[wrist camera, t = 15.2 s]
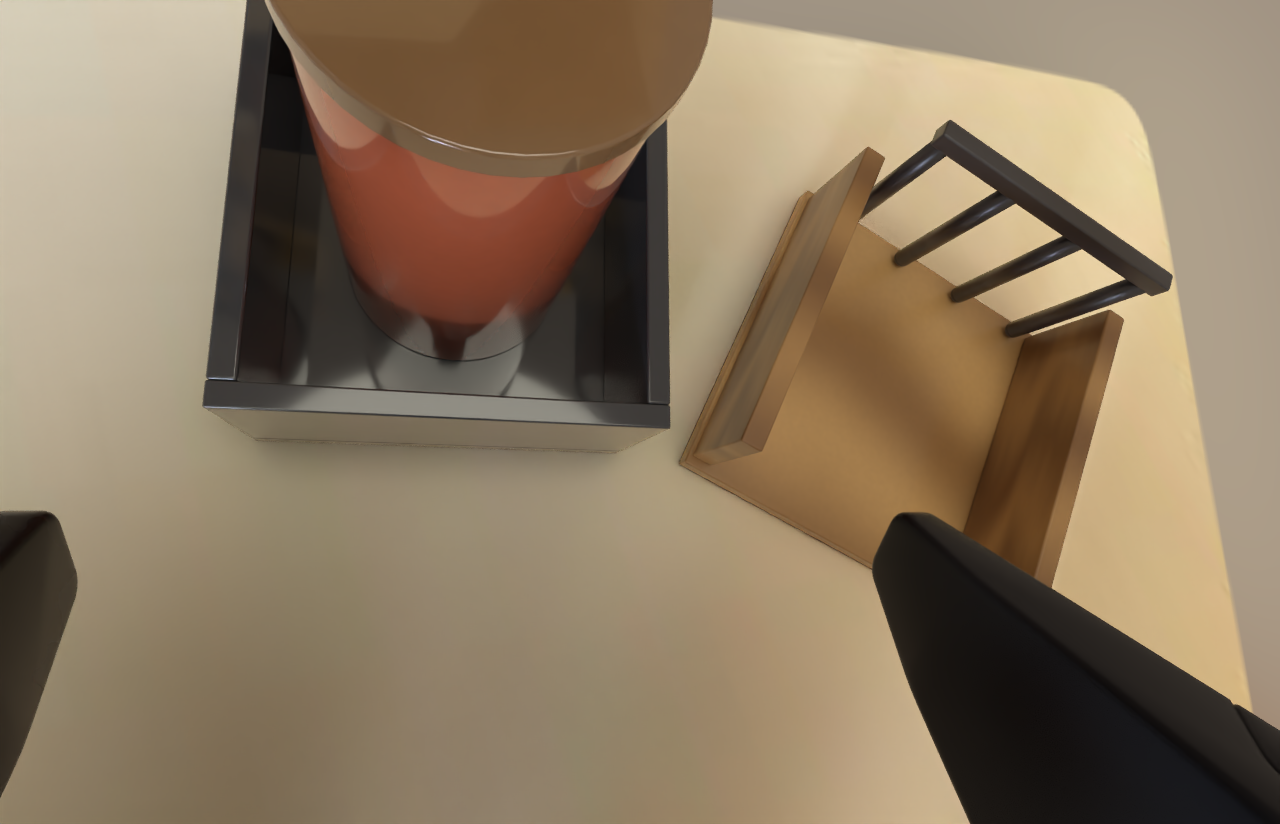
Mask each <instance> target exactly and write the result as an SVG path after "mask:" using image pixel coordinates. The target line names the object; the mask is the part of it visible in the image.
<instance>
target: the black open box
mask: <svg viewBox="0 0 1280 824" xmlns="http://www.w3.org/2000/svg"><path fill="white" fill-rule="evenodd" d="M206 378H207V379H208V380H206V381H205V386H204V395H203V405H202V406H203V407H204V408H205V409H207V410H208V411H210V412H211V413H213V414H215V415H216V416H218V417H219V418H221V419H222V420H224V421H226V422H227V423H229V424H230V425H232V426H233V427H235V428H237V429H238V430H240V431H241V432H243V433H244V434H246V435H248V436H249V437H251V438H253V439H254V440H256V441H279V442H308V443H337V444H366V445H395V446H424V447H453V448H482V449H511V450H540V451H569V452H598V453H617V452H619V451H622V450H624V449H626V448H628V447H631V446H633V445H635V444H637V443H639V442H642V441H644V440H646V439H648V438H650V437H652V436H655V435H657V434H659V433H661V432H663V431H666V430H668V429H670V406H669V404H670V363H669V266H668V168H667V119H666V120H665V121H664V123H662V124H661V125H660V126H659V127H658V128H657V129H656V130H655V131H654V132H653V133H652V134H651V135H650V136H649V137H648V138H647V140H646V142H645V143H644V145H643V147H642V149H641V150H640V152H639V154H638V156H637V157H636V159H635V161H634V163H633V165H632V166H631V168H630V170H629V172H628V173H627V175H626V177H625V179H624V180H623V182H622V184H621V186H620V188H619V189H618V191H617V193H616V195H615V196H614V198H613V200H612V202H611V203H610V205H609V207H608V209H607V211H606V212H605V214H604V216H603V218H602V219H601V221H600V223H599V225H598V226H597V228H596V230H595V232H594V234H593V235H592V237H591V239H590V241H589V242H588V244H587V246H586V248H585V249H584V251H583V253H582V255H581V257H580V258H579V260H578V262H577V264H576V265H575V267H574V269H573V271H572V272H571V274H570V276H569V278H568V280H567V281H566V283H565V285H564V287H563V288H562V290H561V292H560V294H559V295H558V297H557V299H556V301H555V303H554V304H553V306H552V308H551V310H550V311H549V313H548V315H547V317H546V318H545V319H544V321H543V322H542V323H541V325H540V326H539V327H538V328H537V329H536V330H535V331H534V332H533V333H532V334H531V335H530V336H529V337H528V338H526V339H525V340H524V341H522V342H521V343H520V344H518V345H516V346H514V347H513V348H511V349H509V350H507V351H505V352H502V353H500V354H497V355H494V356H490V357H486V358H482V359H475V360H447V359H439V358H435V357H431V356H427V355H424V354H421V353H419V352H416V351H413V350H411V349H409V348H407V347H405V346H403V345H401V344H400V343H398V342H396V341H395V340H393V339H392V338H391V337H389V336H388V335H386V334H385V333H384V332H383V331H382V330H381V329H380V328H379V327H377V326H376V325H375V324H374V323H373V321H372V320H371V319H370V318H369V317H368V315H367V314H366V313H365V312H364V310H363V308H362V307H361V305H360V304H359V302H358V301H357V298H356V296H355V294H354V292H353V290H352V287H351V284H350V281H349V278H348V274H347V270H346V267H345V263H344V259H343V255H342V251H341V247H340V244H339V240H338V236H337V232H336V228H335V224H334V221H333V217H332V213H331V209H330V205H329V202H328V198H327V194H326V190H325V186H324V182H323V179H322V175H321V171H320V167H319V163H318V159H317V156H316V152H315V148H314V144H313V140H312V136H311V133H310V129H309V125H308V121H307V117H306V114H305V110H304V106H303V102H302V98H301V94H300V91H299V87H298V83H297V79H296V75H295V71H294V68H293V64H292V60H291V56H290V52H289V48H288V46H287V44H286V42H285V41H284V39H283V38H282V36H281V35H280V33H279V31H278V29H277V27H276V25H275V23H274V21H273V18H272V16H271V14H270V12H269V10H268V8H267V5H266V3H265V0H247V2H246V11H245V21H244V30H243V39H242V48H241V57H240V67H239V76H238V85H237V94H236V104H235V113H234V122H233V131H232V140H231V150H230V159H229V168H228V177H227V186H226V196H225V205H224V214H223V223H222V233H221V242H220V251H219V260H218V269H217V279H216V288H215V297H214V306H213V315H212V325H211V334H210V343H209V352H208V361H207V371H206Z"/></svg>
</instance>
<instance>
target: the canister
mask: <svg viewBox="0 0 1280 824" xmlns="http://www.w3.org/2000/svg"><path fill="white" fill-rule="evenodd" d="M265 3H266V5H267V8H268V10H269V12H270V14H271V16H272V18H273V21H274V23H275V25H276V27H277V29H278V31H279V33H280V35H281V36H282V38H283V39H284V41H285V42H286V44H287V46H288V48H289V52H290V56H291V60H292V64H293V68H294V71H295V75H296V79H297V83H298V87H299V91H300V94H301V98H302V102H303V106H304V110H305V114H306V117H307V121H308V125H309V129H310V133H311V136H312V140H313V144H314V148H315V152H316V156H317V159H318V163H319V167H320V171H321V175H322V179H323V182H324V186H325V190H326V194H327V198H328V202H329V205H330V209H331V213H332V217H333V221H334V224H335V228H336V232H337V236H338V240H339V244H340V247H341V251H342V255H343V259H344V263H345V267H346V270H347V274H348V278H349V281H350V284H351V287H352V290H353V292H354V294H355V296H356V298H357V301H358V302H359V304H360V305H361V307H362V308H363V310H364V312H365V313H366V314H367V315H368V317H369V318H370V319H371V320H372V321H373V323H374V324H375V325H376V326H377V327H379V328H380V329H381V330H382V331H383V332H384V333H385V334H386V335H388V336H389V337H391V338H392V339H393V340H395V341H396V342H398V343H400V344H401V345H403V346H405V347H407V348H409V349H411V350H413V351H416V352H419V353H421V354H424V355H427V356H431V357H435V358H439V359H447V360H475V359H482V358H486V357H490V356H494V355H497V354H500V353H502V352H505V351H507V350H509V349H511V348H513V347H514V346H516V345H518V344H520V343H521V342H522V341H524V340H525V339H526V338H528V337H529V336H530V335H531V334H532V333H533V332H534V331H535V330H536V329H537V328H538V327H539V326H540V325H541V323H542V322H543V321H544V319H545V318H546V317H547V315H548V313H549V311H550V310H551V308H552V306H553V304H554V303H555V301H556V299H557V297H558V295H559V294H560V292H561V290H562V288H563V287H564V285H565V283H566V281H567V280H568V278H569V276H570V274H571V272H572V271H573V269H574V267H575V265H576V264H577V262H578V260H579V258H580V257H581V255H582V253H583V251H584V249H585V248H586V246H587V244H588V242H589V241H590V239H591V237H592V235H593V234H594V232H595V230H596V228H597V226H598V225H599V223H600V221H601V219H602V218H603V216H604V214H605V212H606V211H607V209H608V207H609V205H610V203H611V202H612V200H613V198H614V196H615V195H616V193H617V191H618V189H619V188H620V186H621V184H622V182H623V180H624V179H625V177H626V175H627V173H628V172H629V170H630V168H631V166H632V165H633V163H634V161H635V159H636V157H637V156H638V154H639V152H640V150H641V149H642V147H643V145H644V143H645V142H646V140H647V138H648V137H649V136H650V135H651V134H652V133H653V132H654V131H655V130H656V129H657V128H658V127H659V126H660V125H661V124H662V123H664V121H665V120H666V119H667V118H668V116H669V115H670V114H671V112H672V111H673V110H674V108H675V107H676V106H677V105H678V103H679V101H680V100H681V98H682V96H683V95H684V93H685V91H686V90H687V88H688V86H689V84H690V83H691V81H692V79H693V77H694V75H695V73H696V72H697V70H698V68H699V66H700V63H701V60H702V58H703V55H704V52H705V49H706V46H707V43H708V38H709V33H710V28H711V22H712V4H713V0H265Z"/></svg>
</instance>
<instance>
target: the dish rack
mask: <svg viewBox="0 0 1280 824" xmlns="http://www.w3.org/2000/svg"><path fill="white" fill-rule="evenodd" d="M946 156H948V157H949V158H950V159H952V160H953V161H955V162H956V163H958V164H959V165H961V166H962V167H964V168H965V169H966V170H968V171H969V172H971V173H972V174H974V175H975V176H977V177H978V178H980V179H981V180H982V181H984V182H985V183H987V184H988V185H990V186H991V187H993V188H994V189H996V190H997V191H996V192H994V193H993V194H991V195H990V196H988V197H986V198H985V199H983V200H981V201H980V202H978V203H976V204H975V205H973V206H971V207H970V208H968V209H967V210H965V211H963V212H962V213H960V214H958V215H957V216H955V217H953V218H952V219H950V220H949V221H947V222H945V223H944V224H942V225H940V226H939V227H937V228H935V229H934V230H932V231H930V232H929V233H927V234H926V235H924V236H922V237H921V238H919V239H917V240H916V241H914V242H912V243H911V244H909V245H908V246H906V247H904V248H903V249H901V250H899V249H898V248H896V247H895V246H893V245H891V244H890V243H888V242H887V241H885V240H884V239H882V238H881V237H879V236H878V235H876V234H874V233H873V232H871V231H870V230H868V229H867V228H865V227H864V226H862V225H861V224H859V223H858V222H859V220H860V219H861V218H862V217H864V216H865V215H867V214H868V213H869V212H871V211H872V210H873V209H875V208H876V207H877V206H879V205H880V204H882V203H883V202H884V201H886V200H887V199H888V198H890V197H891V196H892V195H894V194H895V193H897V192H898V191H899V190H901V189H902V188H903V187H905V186H906V185H907V184H909V183H910V182H912V181H913V180H914V179H916V178H917V177H918V176H920V175H921V174H922V173H924V172H925V171H926V170H928V169H929V168H931V167H932V166H933V165H935V164H936V163H937V162H939V161H940V160H941V159H943V158H944V157H946ZM884 160H885V158H884V157H883V156H882V155H880V154H879V153H877V152H876V151H874V150H873V149H871V148H870V147H867V148H865V149H864V150H863V151H862V152H861V153H860V154H859V155H858V156H856V157H855V158H854V159H853V160H852V161H851V162H850V163H849V164H847V165H846V166H845V167H844V168H843V169H842V170H841V171H839V172H838V173H837V174H836V175H835V176H834V177H833V178H832V179H830V180H829V181H828V182H827V183H826V184H825V185H824V186H822V187H821V188H820V189H819V190H818V191H817V192H816V193H815V194H813V193H811V192H810V191H807V192H805V193H804V194H803V195H802V196H801V197H800V198H799V201H798V203H797V205H796V207H795V209H794V212H793V214H792V216H791V218H790V220H789V222H788V225H787V227H786V229H785V231H784V233H783V236H782V238H781V240H780V242H779V244H778V247H777V249H776V251H775V253H774V255H773V258H772V260H771V262H770V264H769V266H768V269H767V271H766V273H765V275H764V277H763V280H762V282H761V284H760V286H759V288H758V291H757V293H756V295H755V297H754V299H753V302H752V304H751V306H750V308H749V310H748V313H747V315H746V317H745V319H744V321H743V324H742V326H741V328H740V330H739V332H738V335H737V337H736V339H735V341H734V343H733V346H732V348H731V350H730V352H729V354H728V357H727V359H726V361H725V363H724V365H723V368H722V370H721V372H720V374H719V376H718V379H717V381H716V383H715V385H714V387H713V390H712V392H711V394H710V396H709V398H708V401H707V403H706V405H705V407H704V409H703V412H702V414H701V416H700V418H699V420H698V423H697V425H696V427H695V429H694V431H693V434H692V436H691V438H690V440H689V442H688V445H687V447H686V449H685V451H684V453H683V455H682V458H681V460H680V463H679V464H680V465H682V466H684V467H685V468H687V469H689V470H691V471H693V472H695V473H696V474H698V475H700V476H702V477H704V478H706V479H707V480H709V481H711V482H713V483H715V484H717V485H718V486H720V487H722V488H724V489H726V490H728V491H730V492H731V493H733V494H735V495H737V496H739V497H741V498H742V499H744V500H746V501H748V502H750V503H752V504H753V505H755V506H757V507H759V508H761V509H763V510H764V511H766V512H768V513H770V514H772V515H774V516H776V517H777V518H779V519H781V520H783V521H785V522H787V523H788V524H790V525H792V526H794V527H796V528H798V529H799V530H801V531H803V532H805V533H807V534H809V535H810V536H812V537H814V538H816V539H818V540H820V541H821V542H823V543H825V544H827V545H829V546H831V547H833V548H834V549H836V550H838V551H840V552H842V553H844V554H845V555H847V556H849V557H851V558H853V559H855V560H856V561H858V562H860V563H862V564H864V565H866V566H867V567H869V568H871V569H872V563H873V558H874V556H875V554H876V551H877V549H878V547H879V545H880V543H881V541H882V539H883V537H884V535H885V533H886V531H887V529H888V527H889V524H890V522H891V521H892V519H893V518H894V517H895V516H896V515H897V514H898V513H902V512H927V513H930V514H933V515H935V516H936V517H938V518H939V519H941V520H943V521H944V522H946V523H948V524H949V525H951V526H952V527H954V528H956V529H957V530H959V531H960V532H962V533H964V534H965V535H967V536H968V537H970V538H972V539H973V540H975V541H976V542H978V543H980V544H981V545H983V546H984V547H986V548H988V549H989V550H991V551H992V552H994V553H996V554H997V555H999V556H1000V557H1002V558H1004V559H1005V560H1007V561H1008V562H1010V563H1012V564H1013V565H1015V566H1016V567H1018V568H1020V569H1021V570H1023V571H1024V572H1026V573H1028V574H1029V575H1031V576H1032V577H1034V578H1036V579H1037V580H1039V581H1040V582H1042V583H1044V584H1045V585H1047V586H1048V587H1050V588H1051V587H1052V583H1053V580H1054V576H1055V572H1056V569H1057V565H1058V561H1059V558H1060V554H1061V550H1062V547H1063V543H1064V539H1065V535H1066V532H1067V528H1068V524H1069V521H1070V517H1071V513H1072V510H1073V506H1074V502H1075V499H1076V495H1077V491H1078V488H1079V484H1080V480H1081V477H1082V473H1083V469H1084V466H1085V462H1086V458H1087V454H1088V451H1089V447H1090V443H1091V440H1092V436H1093V432H1094V429H1095V425H1096V421H1097V418H1098V414H1099V410H1100V407H1101V403H1102V399H1103V396H1104V392H1105V388H1106V384H1107V381H1108V377H1109V373H1110V370H1111V366H1112V362H1113V359H1114V355H1115V351H1116V348H1117V344H1118V340H1119V337H1120V333H1121V329H1122V326H1123V322H1124V319H1123V318H1122V317H1120V316H1119V315H1117V314H1116V313H1114V312H1113V311H1111V310H1106V311H1103V312H1100V313H1097V314H1095V315H1092V316H1089V317H1086V318H1083V319H1080V320H1077V321H1074V322H1071V323H1068V324H1065V325H1062V326H1059V327H1056V328H1053V329H1050V330H1047V331H1044V332H1041V333H1039V334H1036V335H1033V336H1032V335H1030V334H1029V333H1030V332H1033V331H1036V330H1039V329H1042V328H1045V327H1048V326H1051V325H1054V324H1057V323H1059V322H1062V321H1065V320H1068V319H1071V318H1074V317H1077V316H1080V315H1083V314H1085V313H1088V312H1091V311H1094V310H1097V309H1100V308H1103V307H1106V306H1109V305H1112V304H1114V303H1117V302H1120V301H1123V300H1126V299H1129V298H1132V297H1135V296H1138V295H1141V294H1143V293H1147V294H1148V295H1150V296H1154V295H1157V294H1160V293H1163V292H1166V291H1168V290H1169V289H1170V286H1171V282H1172V278H1173V276H1172V274H1170V273H1169V272H1167V271H1166V270H1165V269H1163V268H1162V267H1160V266H1159V265H1157V264H1156V263H1155V262H1153V261H1152V260H1150V259H1149V258H1147V257H1146V256H1145V255H1143V254H1142V253H1140V252H1139V251H1137V250H1136V249H1135V248H1133V247H1132V246H1130V245H1129V244H1127V243H1126V242H1125V241H1123V240H1122V239H1120V238H1119V237H1117V236H1116V235H1115V234H1113V233H1112V232H1110V231H1109V230H1107V229H1106V228H1105V227H1103V226H1102V225H1100V224H1099V223H1097V222H1096V221H1095V220H1093V219H1092V218H1090V217H1089V216H1087V215H1086V214H1085V213H1083V212H1082V211H1080V210H1079V209H1077V208H1076V207H1075V206H1073V205H1072V204H1070V203H1069V202H1067V201H1066V200H1065V199H1063V198H1062V197H1060V196H1059V195H1057V194H1056V193H1055V192H1053V191H1052V190H1050V189H1049V188H1047V187H1046V186H1045V185H1043V184H1042V183H1040V182H1039V181H1037V180H1036V179H1035V178H1033V177H1032V176H1030V175H1029V174H1027V173H1026V172H1025V171H1023V170H1022V169H1020V168H1019V167H1017V166H1016V165H1015V164H1013V163H1012V162H1010V161H1009V160H1007V159H1006V158H1005V157H1003V156H1002V155H1000V154H999V153H997V152H996V151H995V150H993V149H992V148H990V147H989V146H987V145H986V144H984V143H983V142H982V141H980V140H979V139H977V138H976V137H974V136H973V135H972V134H970V133H969V132H967V131H966V130H964V129H963V128H962V127H960V126H959V125H957V124H956V123H954V122H953V121H952V120H949V121H947V122H946V123H945V124H944V125H942V126H941V127H940V128H939V129H937V130H936V133H935V135H934V138H933V140H932V141H931V142H930V143H929V144H927V145H926V146H925V147H923V148H922V149H921V150H920V151H918V152H917V153H916V154H915V155H913V156H912V157H911V158H909V159H908V160H907V161H906V162H904V163H903V164H902V165H900V166H899V167H898V168H897V169H895V170H894V171H893V172H892V173H890V174H889V175H888V176H886V177H885V178H884V179H883V180H881V181H880V182H879V183H878V184H876V185H875V186H874V184H875V181H876V179H877V177H878V174H879V172H880V169H881V167H882V165H883V162H884ZM873 186H874V187H873ZM1015 203H1016V204H1017V205H1019V206H1020V207H1022V208H1023V209H1025V210H1026V211H1028V212H1029V213H1030V214H1032V215H1033V216H1035V217H1036V218H1038V219H1039V220H1041V221H1042V222H1044V223H1045V224H1046V225H1048V226H1049V227H1051V228H1052V229H1054V230H1055V231H1057V232H1058V233H1060V234H1061V235H1062V237H1060V238H1058V239H1056V240H1053V241H1051V242H1049V243H1047V244H1045V245H1043V246H1041V247H1039V248H1037V249H1035V250H1033V251H1030V252H1028V253H1026V254H1024V255H1022V256H1020V257H1018V258H1016V259H1014V260H1012V261H1009V262H1007V263H1005V264H1003V265H1001V266H999V267H997V268H995V269H993V270H991V271H989V272H986V273H984V274H982V275H980V276H978V277H976V278H974V279H972V280H970V281H968V282H966V283H963V284H961V285H959V286H957V287H956V286H955V285H953V284H952V283H950V282H949V281H947V280H945V279H944V278H942V277H941V276H939V275H938V274H936V273H935V272H933V271H932V270H930V269H929V268H927V267H925V266H924V265H922V264H921V263H919V262H918V261H916V260H917V259H919V258H921V257H922V256H924V255H926V254H928V253H929V252H931V251H933V250H935V249H936V248H938V247H940V246H942V245H944V244H945V243H947V242H949V241H951V240H952V239H954V238H956V237H958V236H959V235H961V234H963V233H965V232H966V231H968V230H970V229H972V228H973V227H975V226H977V225H979V224H980V223H982V222H984V221H986V220H987V219H989V218H991V217H993V216H994V215H996V214H998V213H1000V212H1001V211H1003V210H1005V209H1007V208H1008V207H1010V206H1012V205H1014V204H1015ZM1081 249H1083V250H1084V251H1086V252H1087V253H1089V254H1090V255H1092V256H1093V257H1094V258H1096V259H1097V260H1099V261H1100V262H1102V263H1103V264H1105V265H1106V266H1108V267H1109V268H1110V269H1112V270H1113V271H1115V272H1116V273H1118V274H1119V275H1121V276H1122V277H1124V278H1125V280H1122V281H1120V282H1117V283H1114V284H1112V285H1109V286H1106V287H1104V288H1101V289H1098V290H1096V291H1093V292H1090V293H1088V294H1085V295H1082V296H1080V297H1077V298H1074V299H1072V300H1069V301H1066V302H1064V303H1061V304H1058V305H1056V306H1053V307H1050V308H1048V309H1045V310H1042V311H1040V312H1037V313H1034V314H1032V315H1029V316H1026V317H1024V318H1021V319H1018V320H1015V321H1013V322H1010V321H1009V320H1007V319H1006V318H1004V317H1003V316H1001V315H1000V314H998V313H996V312H995V311H993V310H992V309H990V308H989V307H987V306H986V305H984V304H983V303H981V302H979V301H978V300H976V299H975V298H973V297H975V296H977V295H980V294H982V293H984V292H986V291H989V290H991V289H993V288H995V287H998V286H1000V285H1002V284H1004V283H1007V282H1009V281H1011V280H1013V279H1016V278H1018V277H1020V276H1022V275H1025V274H1027V273H1029V272H1031V271H1034V270H1036V269H1038V268H1040V267H1043V266H1045V265H1047V264H1049V263H1052V262H1054V261H1056V260H1058V259H1061V258H1063V257H1065V256H1067V255H1070V254H1072V253H1074V252H1076V251H1079V250H1081Z"/></svg>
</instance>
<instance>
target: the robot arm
mask: <svg viewBox="0 0 1280 824" xmlns="http://www.w3.org/2000/svg"><path fill="white" fill-rule="evenodd" d="M872 573H873V579H874V582H875V585H876V588H877V591H878V594H879V597H880V600H881V603H882V606H883V609H884V612H885V615H886V618H887V621H888V624H889V627H890V630H891V633H892V636H893V639H894V642H895V645H896V648H897V651H898V654H899V657H900V660H901V663H902V666H903V669H904V672H905V675H906V678H907V680H908V683H909V686H910V688H911V691H912V693H913V696H914V698H915V700H916V703H917V705H918V708H919V710H920V712H921V714H922V717H923V719H924V721H925V723H926V726H927V728H928V730H929V732H930V735H931V737H932V739H933V741H934V744H935V746H936V748H937V750H938V753H939V755H940V757H941V759H942V762H943V764H944V766H945V768H946V771H947V773H948V775H949V777H950V780H951V782H952V784H953V786H954V789H955V791H956V793H957V795H958V798H959V800H960V802H961V804H962V807H963V809H964V811H965V813H966V816H967V818H968V820H969V822H970V824H1280V730H1278V729H1276V728H1275V727H1273V726H1272V725H1270V724H1268V723H1266V722H1265V721H1264V720H1262V719H1260V718H1258V717H1257V716H1256V715H1254V714H1252V713H1251V712H1249V711H1248V710H1246V709H1244V708H1243V707H1241V706H1240V705H1236V704H1235V705H1233V704H1232V702H1231V701H1230V700H1229V699H1228V698H1226V697H1225V696H1223V695H1222V694H1220V693H1218V692H1217V691H1215V690H1214V689H1212V688H1210V687H1209V686H1207V685H1206V684H1204V683H1202V682H1201V681H1199V680H1198V679H1196V678H1194V677H1193V676H1191V675H1190V674H1188V673H1186V672H1185V671H1183V670H1182V669H1180V668H1178V667H1177V666H1175V665H1174V664H1172V663H1170V662H1169V661H1167V660H1166V659H1164V658H1162V657H1161V656H1159V655H1157V654H1156V653H1154V652H1153V651H1151V650H1149V649H1148V648H1146V647H1145V646H1143V645H1141V644H1140V643H1138V642H1137V641H1135V640H1133V639H1132V638H1130V637H1129V636H1127V635H1125V634H1124V633H1122V632H1121V631H1119V630H1117V629H1116V628H1114V627H1113V626H1111V625H1109V624H1108V623H1106V622H1105V621H1103V620H1101V619H1100V618H1098V617H1097V616H1095V615H1093V614H1092V613H1090V612H1089V611H1087V610H1085V609H1084V608H1082V607H1081V606H1079V605H1077V604H1076V603H1074V602H1073V601H1071V600H1069V599H1068V598H1066V597H1065V596H1063V595H1061V594H1060V593H1058V592H1057V591H1055V590H1053V589H1052V588H1050V587H1048V586H1047V585H1045V584H1044V583H1042V582H1040V581H1039V580H1037V579H1036V578H1034V577H1032V576H1031V575H1029V574H1028V573H1026V572H1024V571H1023V570H1021V569H1020V568H1018V567H1016V566H1015V565H1013V564H1012V563H1010V562H1008V561H1007V560H1005V559H1004V558H1002V557H1000V556H999V555H997V554H996V553H994V552H992V551H991V550H989V549H988V548H986V547H984V546H983V545H981V544H980V543H978V542H976V541H975V540H973V539H972V538H970V537H968V536H967V535H965V534H964V533H962V532H960V531H959V530H957V529H956V528H954V527H952V526H951V525H949V524H948V523H946V522H944V521H943V520H941V519H939V518H938V517H936V516H935V515H933V514H930V513H927V512H902V513H898V514H897V515H896V516H895V517H894V518H893V519H892V521H891V522H890V524H889V527H888V529H887V531H886V533H885V535H884V537H883V539H882V541H881V543H880V545H879V547H878V549H877V551H876V554H875V556H874V558H873V563H872ZM76 592H77V573H76V569H75V566H74V563H73V560H72V557H71V554H70V551H69V548H68V545H67V542H66V539H65V536H64V533H63V530H62V527H61V524H60V522H59V520H58V519H57V517H56V516H55V515H54V514H52V513H50V512H46V511H2V512H0V797H1V795H2V793H3V791H4V789H5V787H6V785H7V783H8V781H9V778H10V776H11V774H12V772H13V769H14V767H15V765H16V763H17V761H18V758H19V756H20V754H21V752H22V749H23V746H24V744H25V741H26V738H27V736H28V733H29V730H30V728H31V725H32V722H33V719H34V716H35V713H36V711H37V708H38V705H39V702H40V699H41V696H42V693H43V690H44V687H45V684H46V681H47V679H48V676H49V673H50V670H51V667H52V664H53V661H54V658H55V655H56V652H57V650H58V647H59V644H60V641H61V638H62V635H63V632H64V629H65V626H66V623H67V620H68V618H69V615H70V612H71V609H72V606H73V603H74V600H75V597H76Z"/></svg>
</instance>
